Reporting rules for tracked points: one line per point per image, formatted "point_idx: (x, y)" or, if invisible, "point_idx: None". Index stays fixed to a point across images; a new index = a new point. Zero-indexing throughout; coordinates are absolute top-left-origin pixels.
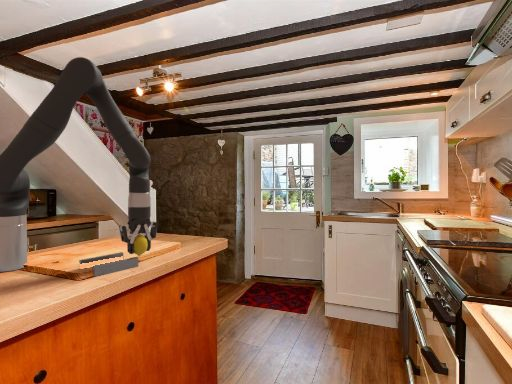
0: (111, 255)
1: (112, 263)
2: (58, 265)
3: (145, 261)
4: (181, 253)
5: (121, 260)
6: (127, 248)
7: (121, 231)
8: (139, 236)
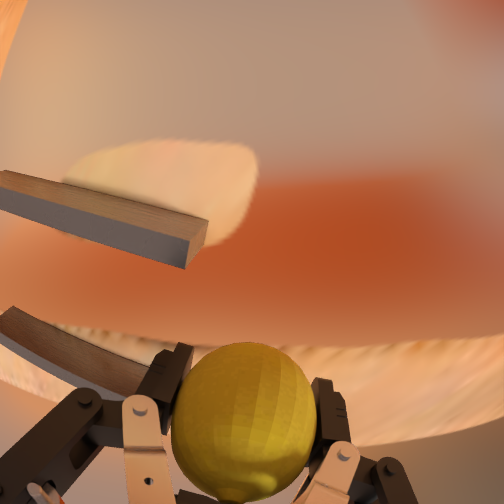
0: (96, 239)
1: (44, 367)
2: (11, 25)
3: None
4: (465, 402)
5: (81, 382)
6: (149, 367)
7: (21, 463)
8: (210, 495)
